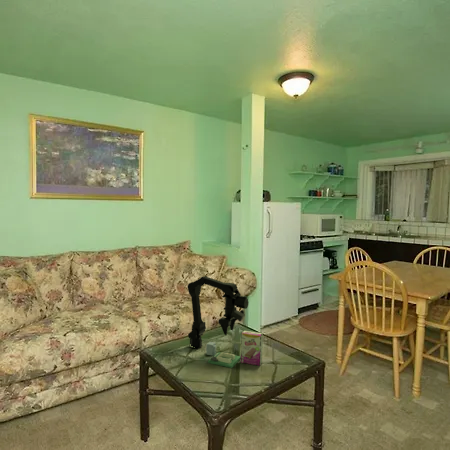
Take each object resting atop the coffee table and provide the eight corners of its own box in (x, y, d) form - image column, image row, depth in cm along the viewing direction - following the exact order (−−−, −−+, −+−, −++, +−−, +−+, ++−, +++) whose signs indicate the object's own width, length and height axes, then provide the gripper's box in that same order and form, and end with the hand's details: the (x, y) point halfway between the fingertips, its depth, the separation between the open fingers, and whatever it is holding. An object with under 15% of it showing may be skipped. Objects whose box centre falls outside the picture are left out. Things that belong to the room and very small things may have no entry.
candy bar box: (240, 363, 172) (240, 332, 172) (242, 359, 176) (243, 330, 176) (260, 366, 168) (261, 335, 168) (262, 362, 173) (263, 332, 173)
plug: (206, 354, 182) (206, 343, 182) (209, 351, 186) (209, 341, 186) (213, 355, 180) (214, 345, 180) (216, 353, 184) (216, 343, 184)
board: (208, 362, 171) (208, 356, 171) (218, 354, 183) (218, 348, 183) (232, 368, 165) (232, 361, 165) (240, 358, 177) (241, 352, 177)
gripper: (237, 311, 170) (236, 340, 171) (248, 304, 188) (247, 330, 188) (218, 308, 175) (217, 336, 175) (231, 301, 192) (229, 327, 192)
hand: (228, 332), depth 182 cm, fingers open, 9 cm apart
